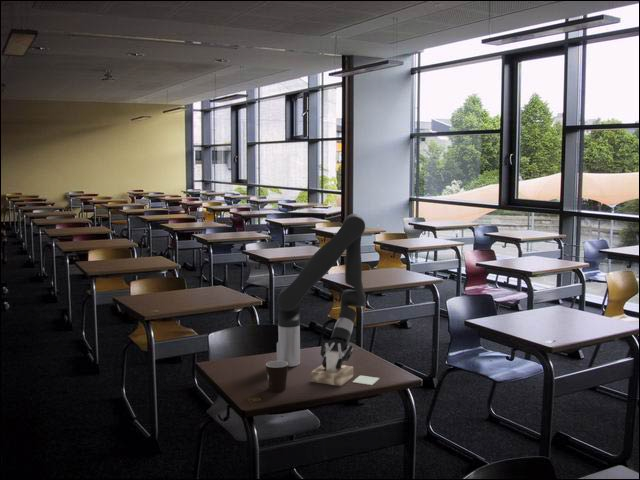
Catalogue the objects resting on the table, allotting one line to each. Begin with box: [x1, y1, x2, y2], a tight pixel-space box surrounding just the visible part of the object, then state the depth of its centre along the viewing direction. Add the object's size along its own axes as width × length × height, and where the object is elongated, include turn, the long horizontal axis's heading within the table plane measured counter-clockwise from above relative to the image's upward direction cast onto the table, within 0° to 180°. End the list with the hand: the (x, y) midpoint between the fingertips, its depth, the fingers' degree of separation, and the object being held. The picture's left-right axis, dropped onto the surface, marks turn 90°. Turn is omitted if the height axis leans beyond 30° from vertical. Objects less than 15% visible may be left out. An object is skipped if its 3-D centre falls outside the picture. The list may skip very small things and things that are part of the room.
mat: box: [351, 375, 380, 386], centre depth 256 cm, size 8×8×1 cm
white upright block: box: [325, 350, 339, 373], centre depth 257 cm, size 5×7×11 cm
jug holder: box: [310, 364, 354, 387], centre depth 258 cm, size 13×13×4 cm
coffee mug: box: [265, 360, 289, 393], centre depth 248 cm, size 12×9×10 cm
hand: (330, 367), depth 256 cm, fingers closed on white upright block, 5 cm apart
